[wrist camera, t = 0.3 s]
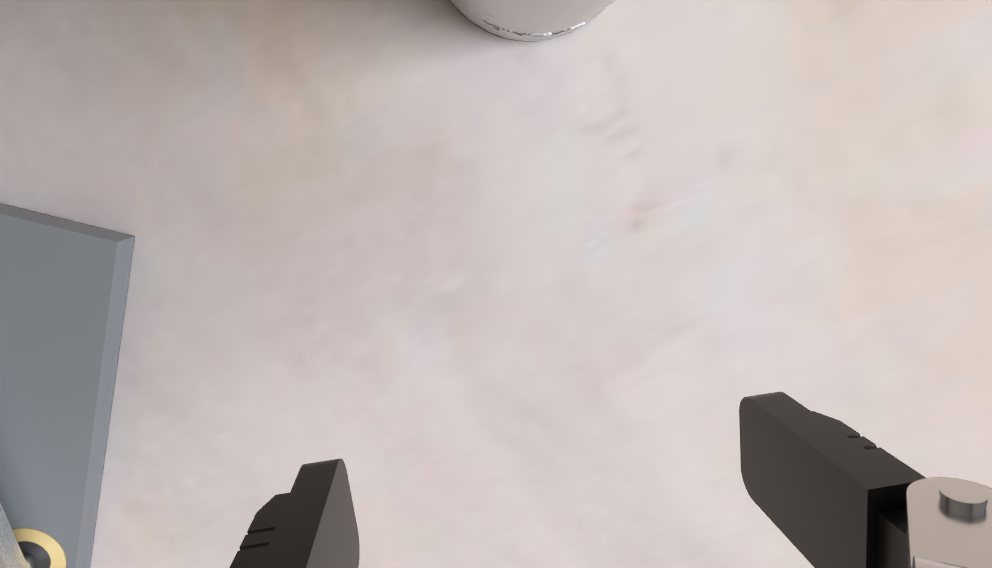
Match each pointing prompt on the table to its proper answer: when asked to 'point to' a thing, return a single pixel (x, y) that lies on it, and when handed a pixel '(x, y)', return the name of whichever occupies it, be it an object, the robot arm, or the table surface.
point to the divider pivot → (11, 547)
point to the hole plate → (57, 377)
